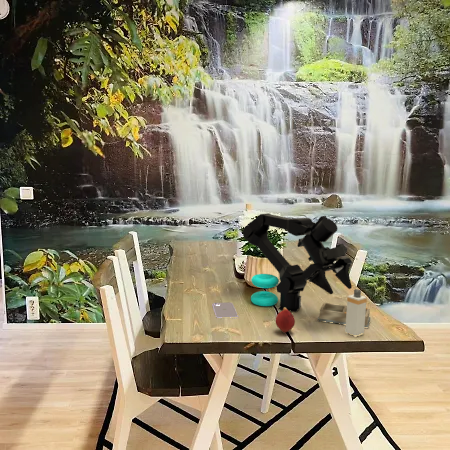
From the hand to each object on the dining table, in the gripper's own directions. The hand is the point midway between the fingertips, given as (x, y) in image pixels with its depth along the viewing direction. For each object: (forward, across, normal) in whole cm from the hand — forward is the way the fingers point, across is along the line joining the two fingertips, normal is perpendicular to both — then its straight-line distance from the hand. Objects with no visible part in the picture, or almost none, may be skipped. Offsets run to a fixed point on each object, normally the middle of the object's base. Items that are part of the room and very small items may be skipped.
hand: (341, 291), depth 143 cm
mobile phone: (-15, -20, +32) cm, 41 cm away
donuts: (-14, -3, +31) cm, 34 cm away
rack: (+6, +7, +11) cm, 14 cm away
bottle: (+13, 0, +5) cm, 14 cm away
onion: (+3, -17, +14) cm, 22 cm away
